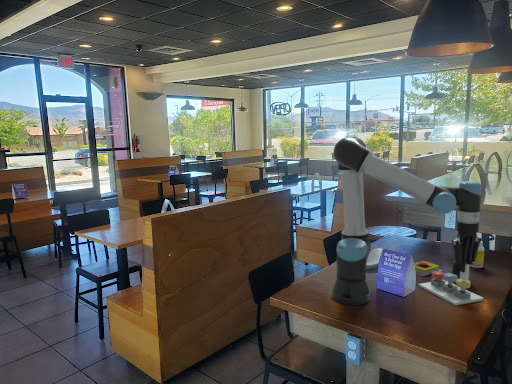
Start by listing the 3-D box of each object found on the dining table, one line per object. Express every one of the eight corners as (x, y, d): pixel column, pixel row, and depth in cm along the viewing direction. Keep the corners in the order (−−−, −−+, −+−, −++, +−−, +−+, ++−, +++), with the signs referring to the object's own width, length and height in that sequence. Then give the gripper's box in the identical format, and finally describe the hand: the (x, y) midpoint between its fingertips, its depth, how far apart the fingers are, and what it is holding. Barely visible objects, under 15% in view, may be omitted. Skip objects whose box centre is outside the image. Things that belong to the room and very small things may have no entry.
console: (455, 305, 148) (455, 298, 148) (418, 286, 167) (419, 279, 166) (483, 300, 152) (483, 293, 152) (444, 281, 171) (444, 275, 171)
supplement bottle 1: (466, 279, 174) (468, 254, 172) (470, 285, 167) (472, 258, 165) (450, 278, 176) (451, 252, 174) (453, 283, 169) (455, 257, 167)
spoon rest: (371, 273, 183) (371, 258, 182) (350, 266, 192) (350, 253, 191) (396, 261, 199) (397, 248, 198) (376, 256, 207) (376, 243, 206)
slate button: (449, 287, 156) (450, 278, 155) (440, 283, 161) (441, 274, 160) (459, 286, 157) (460, 276, 157) (450, 281, 162) (450, 272, 162)
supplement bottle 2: (485, 268, 187) (488, 243, 185) (472, 268, 187) (474, 243, 185) (478, 263, 194) (480, 239, 192) (465, 263, 194) (466, 239, 192)
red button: (437, 285, 162) (438, 276, 162) (428, 280, 167) (429, 272, 166) (447, 283, 164) (447, 274, 163) (438, 279, 168) (438, 270, 168)
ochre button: (463, 293, 150) (463, 284, 149) (452, 289, 155) (453, 279, 154) (472, 292, 151) (473, 282, 151) (462, 287, 156) (463, 278, 155)
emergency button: (406, 262, 185) (427, 257, 192) (405, 271, 186) (426, 266, 193) (422, 268, 177) (443, 263, 184) (421, 277, 178) (443, 271, 185)
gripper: (462, 225, 143) (458, 285, 147) (489, 222, 147) (484, 280, 151) (447, 220, 150) (443, 278, 154) (472, 218, 154) (469, 274, 158)
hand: (464, 279), depth 152 cm, fingers closed
